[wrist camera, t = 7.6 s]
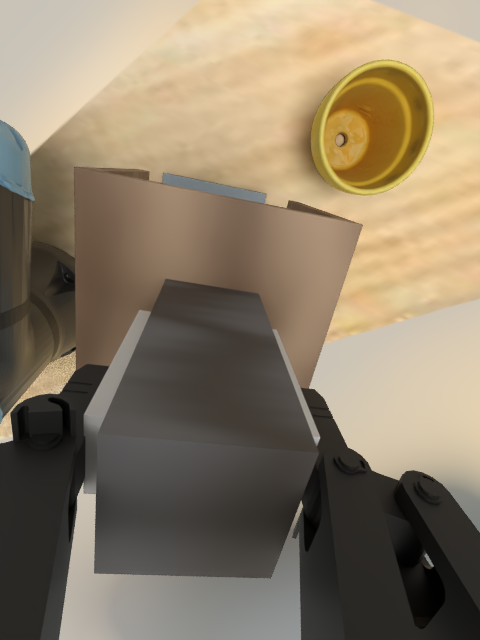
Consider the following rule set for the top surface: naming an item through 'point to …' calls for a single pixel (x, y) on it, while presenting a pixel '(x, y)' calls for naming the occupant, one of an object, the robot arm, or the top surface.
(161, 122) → the top surface
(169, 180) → the mat
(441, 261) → the top surface
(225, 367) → the brown legged piece
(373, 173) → the plant pot
